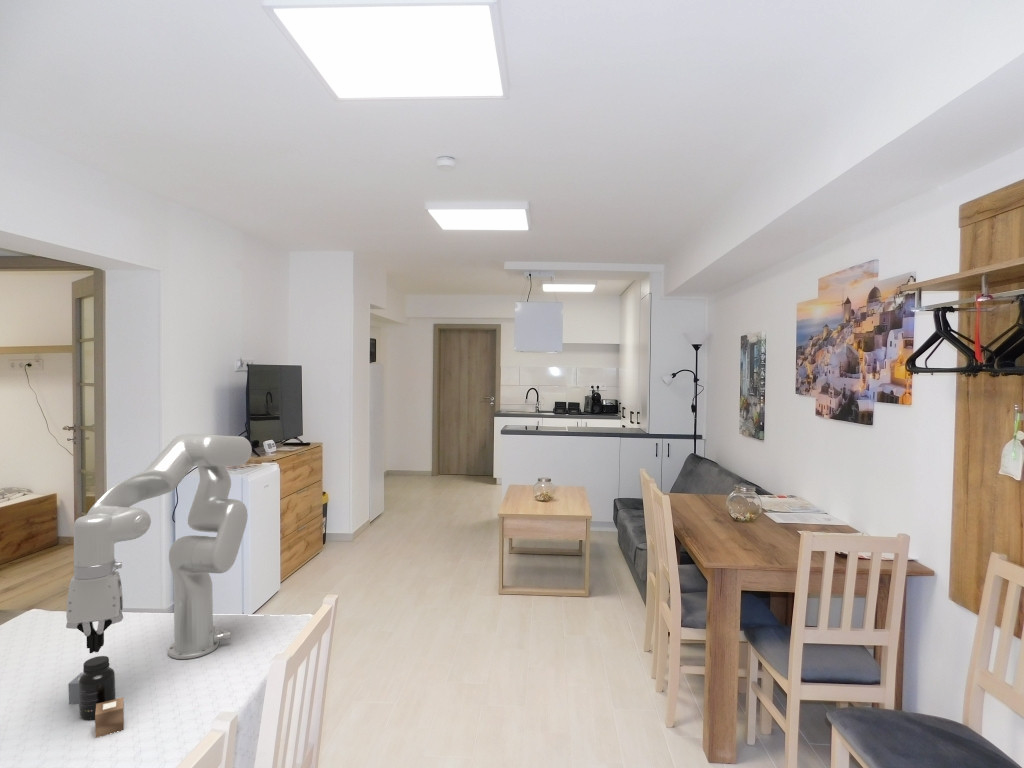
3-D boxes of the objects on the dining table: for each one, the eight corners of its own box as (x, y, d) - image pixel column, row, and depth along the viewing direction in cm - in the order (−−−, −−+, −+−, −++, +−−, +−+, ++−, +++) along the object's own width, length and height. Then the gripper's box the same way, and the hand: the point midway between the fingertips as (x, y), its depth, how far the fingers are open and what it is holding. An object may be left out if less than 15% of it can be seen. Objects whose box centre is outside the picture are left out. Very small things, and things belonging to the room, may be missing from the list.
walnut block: (123, 719, 135) (123, 696, 135) (123, 730, 131) (123, 707, 131) (96, 726, 133) (96, 703, 133) (95, 738, 128) (95, 714, 128)
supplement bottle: (91, 704, 141) (90, 653, 141) (121, 703, 142) (121, 652, 141) (72, 721, 134) (71, 668, 134) (104, 720, 135) (103, 667, 134)
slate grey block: (103, 691, 147) (103, 670, 146) (91, 703, 142) (91, 681, 141) (81, 693, 146) (80, 672, 146) (68, 704, 141) (68, 683, 141)
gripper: (136, 561, 143) (136, 638, 143) (59, 568, 137) (60, 648, 138) (129, 571, 136) (130, 651, 136) (49, 579, 130) (50, 663, 131)
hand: (95, 650), depth 137 cm, fingers closed
